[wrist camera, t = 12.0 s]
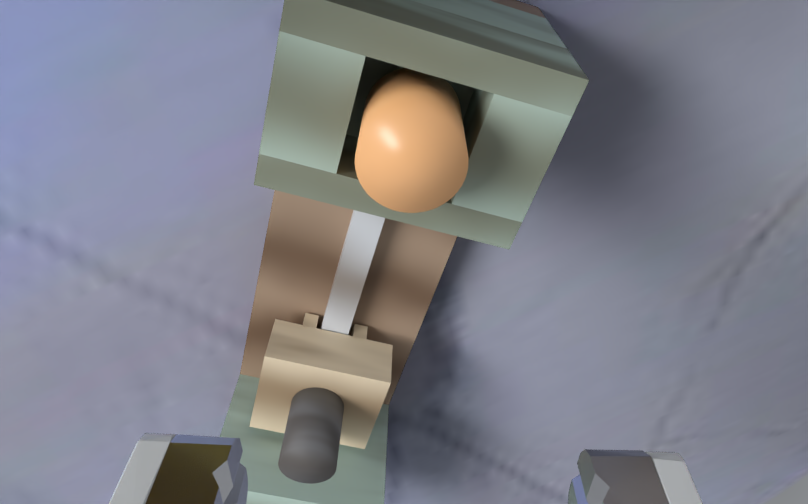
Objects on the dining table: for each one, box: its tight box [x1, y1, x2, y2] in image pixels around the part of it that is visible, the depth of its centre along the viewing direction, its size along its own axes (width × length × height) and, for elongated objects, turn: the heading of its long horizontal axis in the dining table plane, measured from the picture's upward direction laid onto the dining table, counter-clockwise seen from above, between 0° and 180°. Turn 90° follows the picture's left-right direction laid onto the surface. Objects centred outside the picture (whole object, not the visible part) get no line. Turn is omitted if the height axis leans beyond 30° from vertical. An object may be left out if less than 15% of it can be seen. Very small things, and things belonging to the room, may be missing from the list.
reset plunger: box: [355, 68, 469, 213], centre depth 21 cm, size 4×4×4 cm
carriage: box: [249, 313, 393, 484], centre depth 34 cm, size 6×7×8 cm
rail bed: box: [220, 0, 589, 504], centre depth 32 cm, size 33×10×10 cm, turn 164°
